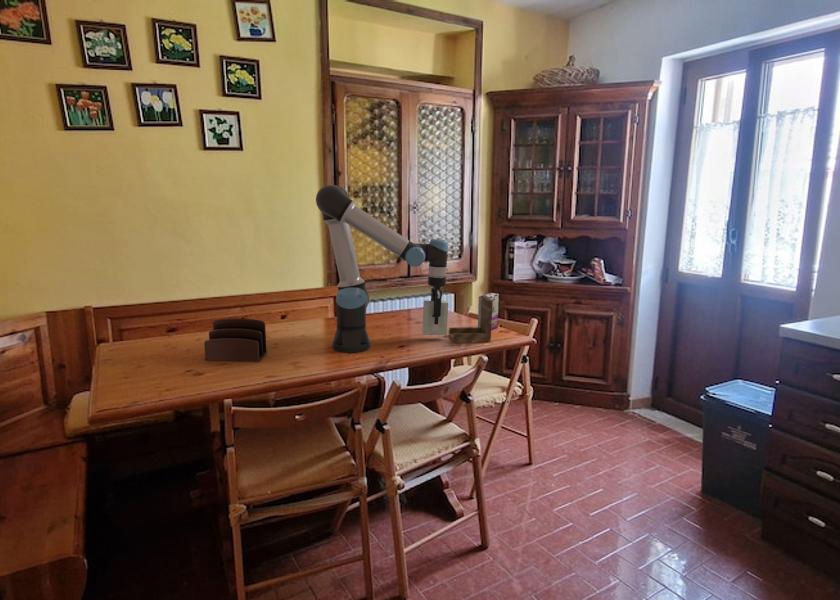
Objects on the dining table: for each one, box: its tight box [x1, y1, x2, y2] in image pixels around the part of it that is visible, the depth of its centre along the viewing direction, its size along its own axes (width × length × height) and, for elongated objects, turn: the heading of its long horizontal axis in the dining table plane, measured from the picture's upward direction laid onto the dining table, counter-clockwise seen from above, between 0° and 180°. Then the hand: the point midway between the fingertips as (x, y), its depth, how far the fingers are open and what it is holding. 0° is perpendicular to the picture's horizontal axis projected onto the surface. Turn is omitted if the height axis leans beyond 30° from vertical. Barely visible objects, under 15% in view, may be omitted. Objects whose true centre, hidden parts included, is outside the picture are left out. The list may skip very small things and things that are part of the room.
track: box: [448, 295, 493, 343], centre depth 220 cm, size 16×11×18 cm
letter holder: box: [203, 317, 268, 363], centre depth 189 cm, size 10×20×14 cm, turn 90°
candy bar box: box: [477, 292, 500, 331], centre depth 236 cm, size 11×5×16 cm, turn 143°
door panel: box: [421, 300, 449, 336], centre depth 217 cm, size 10×4×14 cm, turn 97°
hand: (434, 329), depth 219 cm, fingers closed on door panel, 4 cm apart
